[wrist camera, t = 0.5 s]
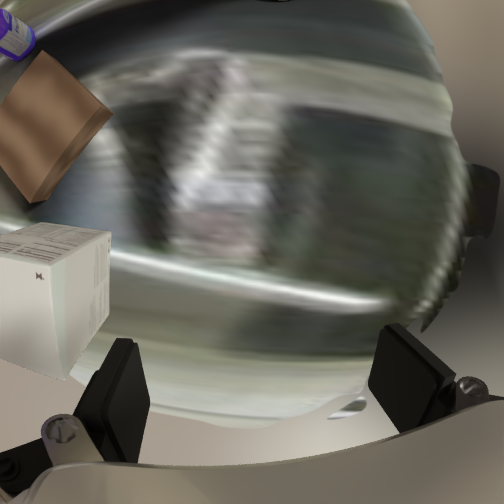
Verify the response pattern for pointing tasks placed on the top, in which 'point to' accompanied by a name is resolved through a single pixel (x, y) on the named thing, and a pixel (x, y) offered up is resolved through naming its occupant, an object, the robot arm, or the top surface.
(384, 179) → the top surface
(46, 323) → the supplement box
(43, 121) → the plinth
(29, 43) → the bottle
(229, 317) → the top surface
